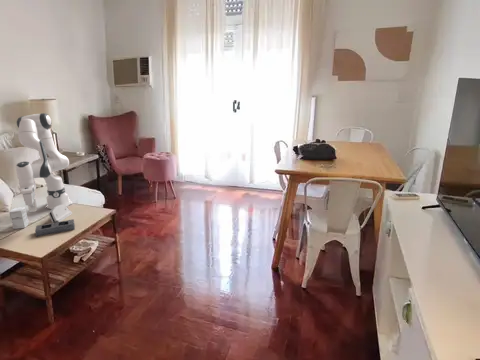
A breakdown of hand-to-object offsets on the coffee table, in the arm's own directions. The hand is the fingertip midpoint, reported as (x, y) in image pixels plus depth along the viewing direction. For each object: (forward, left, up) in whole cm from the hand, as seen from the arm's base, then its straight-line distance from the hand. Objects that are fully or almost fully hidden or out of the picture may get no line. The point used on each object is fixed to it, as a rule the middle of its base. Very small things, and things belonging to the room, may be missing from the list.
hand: (32, 206), depth 224 cm
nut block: (0, 0, -3) cm, 3 cm away
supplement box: (-8, -10, -15) cm, 20 cm away
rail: (+11, +12, -15) cm, 22 cm away
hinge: (-11, +14, -15) cm, 23 cm away
